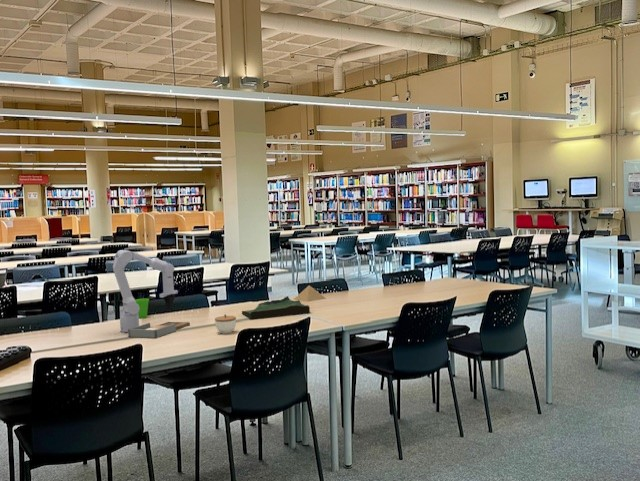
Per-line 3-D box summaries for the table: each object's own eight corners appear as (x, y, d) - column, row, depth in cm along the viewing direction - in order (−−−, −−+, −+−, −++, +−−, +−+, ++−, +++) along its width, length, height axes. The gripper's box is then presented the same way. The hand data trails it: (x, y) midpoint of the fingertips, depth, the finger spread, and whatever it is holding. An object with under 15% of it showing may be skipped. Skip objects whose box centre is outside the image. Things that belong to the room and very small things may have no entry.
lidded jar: (237, 329, 317) (236, 312, 316) (235, 334, 306) (234, 315, 305) (217, 330, 316) (216, 313, 316) (214, 335, 306) (213, 316, 305)
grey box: (128, 337, 310) (128, 329, 310) (148, 330, 326) (148, 322, 326) (156, 338, 304) (155, 330, 304) (175, 331, 320) (175, 323, 320)
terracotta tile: (150, 332, 318) (150, 327, 318) (157, 330, 324) (157, 325, 324) (160, 332, 316) (159, 328, 316) (166, 330, 322) (166, 325, 321)
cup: (131, 319, 362) (130, 301, 362) (139, 316, 371) (138, 298, 371) (145, 319, 360) (144, 301, 360) (152, 316, 369) (151, 298, 368)
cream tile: (142, 334, 312) (142, 330, 312) (149, 332, 318) (149, 327, 318) (152, 335, 310) (152, 330, 310) (159, 332, 316) (159, 328, 316)
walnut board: (151, 330, 325) (151, 327, 325) (168, 324, 340) (168, 321, 340) (173, 331, 320) (173, 328, 320) (189, 325, 335) (189, 322, 335)
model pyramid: (310, 296, 424) (310, 282, 423) (326, 299, 410) (326, 284, 410) (292, 300, 413) (291, 285, 413) (307, 302, 400) (307, 287, 399)
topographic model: (298, 308, 376) (297, 292, 376) (309, 314, 356) (309, 297, 356) (242, 314, 364) (241, 298, 363) (250, 320, 344) (249, 303, 343)
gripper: (166, 286, 329) (168, 310, 330) (181, 282, 343) (183, 306, 343) (155, 286, 332) (157, 310, 332) (171, 282, 345) (172, 306, 346)
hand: (169, 308), depth 338 cm, fingers closed
